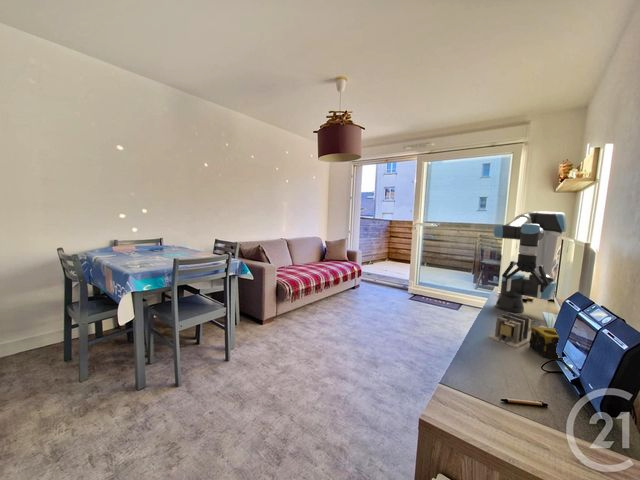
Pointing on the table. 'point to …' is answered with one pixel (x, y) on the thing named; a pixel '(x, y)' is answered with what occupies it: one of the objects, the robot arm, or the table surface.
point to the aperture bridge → (517, 325)
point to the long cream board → (509, 340)
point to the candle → (544, 341)
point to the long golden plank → (509, 329)
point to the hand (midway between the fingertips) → (522, 294)
